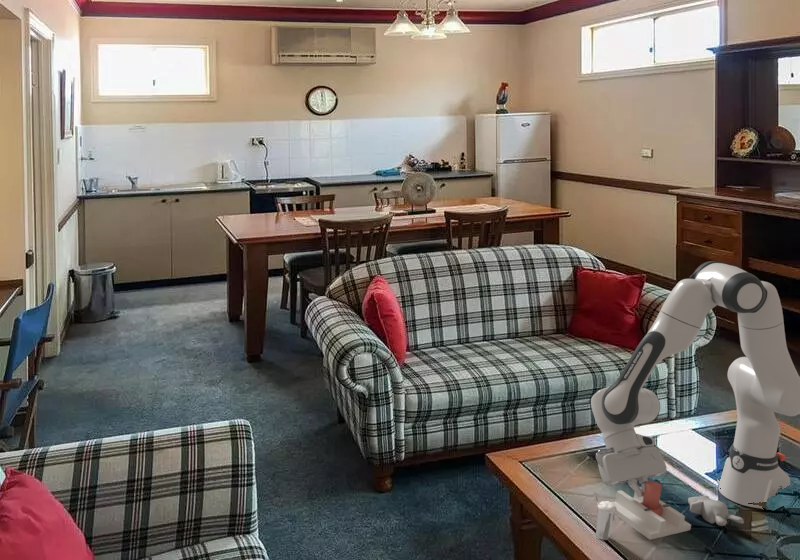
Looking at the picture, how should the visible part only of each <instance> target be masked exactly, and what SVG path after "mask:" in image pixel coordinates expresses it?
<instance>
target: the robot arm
mask: <svg viewBox="0 0 800 560" xmlns="http://www.w3.org/2000/svg"><path fill="white" fill-rule="evenodd" d="M717 306H719V307H722V308H724V309H727V310H729V312H730V311H731V312H734V313H737V323H738V325H737V326H738V330H739V331H738V332H739V333H738V334H739V342H740V348H741V351H742V352H743V354H744V355H745V356H740V357H738V358H736V359H735V360H733V361H732V362H731V364H730V365H729V366H728V370H727V380H728V382H729V383H730V386H731V388H732V391H733V394H734V398H735V405H736V416H737V417H736V418H737V419H736V425H735V432H734V433H735V434H734V439H733V442H732V443H731V445H730V449H729V453H728V454H729V456H728V457H727V458H726V460H725V463H724V467H723V470H722V473H721V476H720V477H721V479H720V481H719V480H718V479H717V480H716V481H717V483H718V485H719V486H718V492H719V493H720V495H722V496H724V498H726V499H728V500H729V501H732V502H734V503H736V504H740V505H742V506H746V507H749V508H756V509H761V510H764V509H763V508H762V506H759V505H753V504H748V503H753V502H754V503H759V502H761V503H762V502H767V499H768V498H770V497H771V496H775V495H776V496H777V495H778V492H777V491H778V490H779V489H784V488H786V487H787V486H789V485H790V486H791V478H790V476H789V475H788V474H787V473H786V472H785V471H784V470H783V469H782V468H781V467H780V465H779V461H781V462H784V461H785V460H786V455H785V454H783V453H781V452H779V451H778V446H779V441H780V436H781V426H780V423H779V422H778V420H777V417H776V415H775V413H777V414H780V415H783V416H787V417H795V416H798V415H800V375H799V373H798V371H797V369H796V366H795V365H794V363H793V360H792V358H791V355H790V352H789V350H788V346H787V340H786V332H785V324H784V323H785V322H784V321H785V320H784V314H783V308H782V307H783V306H782V303H781V299H780V296H779V293H778V290H777V288H776V287H775V285H773V284H772V283H770V282H768V281H764V280H761V279H759V278H758V277H757V276H756V275H754V273H753V274H752V273H750V272H748V271H746V270H744V269H742V268H740V267H738V266H735V265H731V264H726V263H724V262H722V261H719V260H718V261H717V260H713V261H711V260H710V261H706V262H703V263H701V264H700V265H698V267H697V268H696V269H695V270H694V272H693V273H692V274H691V275H690V276H689V278H684V279H681V280H680V281H678V282H677V283H676V285H675V286H674V287H673V288H672V290H670V293H669V294H668V296H667V297H666V299H665V301H664V302H663V305H662V306H661V308H660V311H659V313H658V314H657V316H656V317H655V320H654V321H653V323H652V325H651V327H650V328H649V330H648V331H647V333H646V334H645V335H644V337H643V338H642V339H641V341H640V342H639V343H638V344H637V347H636V348H635V350H634V352H633V353H632V354H631V356H630V358H629V360H628V361H627V363H626V365H625V366H624V369H623V370H622V371H621V374H620V375H619V376H618V378H617V379H616V380H615V382H613V383H612V384H611V385H610V386H605V387H604V388H601V389H599V390H597V391H596V392H595V393H594V394H592V397H591V398H590V407H591V410H592V414H593V417H594V420H595V423H596V424H597V427H598V428H599V430H600V432H601V434H602V440H603V442H604V445H605V447H606V448H605V449H599V450H597V452H596V453H595V459H596V460H595V461H597V466H598V471H599V473H600V478H601V481H602V482H603V484H605V485H606V486H612V485H618V484H622V483H627V484H628V486H629V488H631V489H632V491H634V493H635V492H636V495H637V497H643V496H644V490H645V484H646V481H649V478H654V477H658V476H662V475H663V474H666V472H667V465H666V462H665V460H664V458H663V455H662V453H661V452H660V450H659V449H658V448H657V447H656V446H655V445H656V441H655V439H654V438H653V437H651V436H646V435H642V434H639V433H636V430H635V426H637V425H642V424H648V423H651V422H653V421H654V420H656V418H657V417H658V416H659V414H660V411H661V401H660V399H659V396H658V395H657V394H656V393H655V392H654V391H652V390H651V389H648V388H644V386H645V384H646V382H647V380H648V378H649V377H650V376H651V374H652V372H653V371H654V369H655V367H656V366H657V365H658V364H659V363H660V362H661V361H663V360H664V359H667V358H668V357H670V356H673V355H676V354H679V353H682V352H684V351H686V350H688V349H689V348H690V346H691V345H692V344H693V342H694V341H695V340H696V338H697V337H698V334H699V333H700V331H701V328H702V327H703V325H704V322H705V320H706V317H707V316H708V314H709V313H710V312H711V311H712V310H713V308H715V307H717ZM777 451H778V452H777ZM778 460H779V461H778ZM638 483H639V484H641V485H640V486H639V485H638ZM640 487H641V488H640ZM720 488H721V489H720Z"/></svg>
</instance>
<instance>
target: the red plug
mask: <svg viewBox="0 0 800 560" xmlns="http://www.w3.org/2000/svg"><path fill="white" fill-rule="evenodd" d="M662 487H663V485H662V484H661V483H660V482H658V481H654V480H648V481H646V484H645V490H644V496H643V502H641V504H642V505H644V506H645V507H647V508H651V511H653V512H654V513H656V514H657V515H659V516H661V515H662V508H660V507H659V500H661V499H660V498H661V494H662V489H663V488H662Z"/></svg>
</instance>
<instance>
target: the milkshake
mask: <svg viewBox="0 0 800 560" xmlns="http://www.w3.org/2000/svg"><path fill="white" fill-rule="evenodd" d="M595 499H596V503H597V511H596V512H597V514H596V531H595V537H596V538H597V539H600V540H602V541H607V540H609V539H610V536H611V534H612V533H611V532H612V528H613V524H614V522H615V521H614V520H615V517H616V515H615V514H616V510H617V508H616V506H615V505H614V504H613V503H611V502H612V501H609V500H606V501H605V500H603V501H600V502H599V501H598V497H597V496H595Z"/></svg>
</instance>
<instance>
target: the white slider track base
mask: <svg viewBox="0 0 800 560" xmlns="http://www.w3.org/2000/svg"><path fill="white" fill-rule="evenodd" d="M639 487H640V488H641V486H639ZM610 502H611V503H613V504H614V505H615V506H616V508H617V510H616V514H615V517H618V518H619V519H621V520H622V521H623V522H624V523H626V524H627V525H628V526H630V527H631V528H633V529H635V530H636V532H638V533H640V534H641V535H642V536H644V537H645V538H647V540H655V539H659V538H664V537H667V536H672V535H675V534H679V533H683V532H688V531H691V529H692V528H691V527H692V524H690V523H689V522H688V521H686V520H685V519H686V518H685V517H686V515H684V514H683V513H681V512H679V511H678V510H676V509H675V508H673V507H671V504H670V503H666V502H664V501H663V500H661V499H660V500H659V507H660V508H662V515H661V516H659V515H657V514H656V513H654V512H653V511H651V508H647V507H645V506H644V505H642V504H641V502H643V497H637V495H636V492H635V491H634V493H633V497H632V496H631V495H629V494H627V493H626V491H623V490H617V491H616V495H615V501H610Z"/></svg>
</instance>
